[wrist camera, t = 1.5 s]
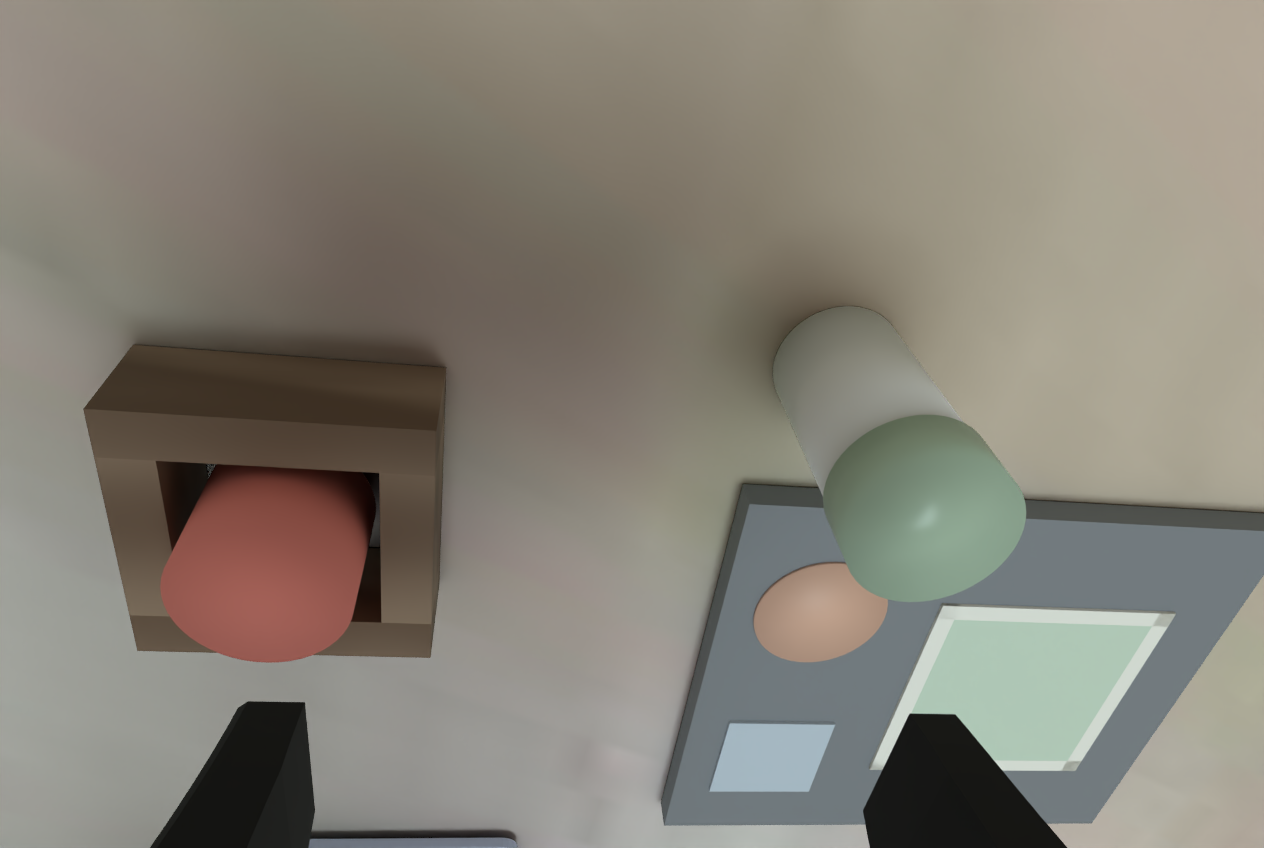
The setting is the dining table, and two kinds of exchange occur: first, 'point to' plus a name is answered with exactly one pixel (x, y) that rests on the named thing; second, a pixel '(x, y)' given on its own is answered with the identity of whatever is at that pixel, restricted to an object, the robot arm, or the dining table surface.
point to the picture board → (949, 658)
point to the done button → (270, 561)
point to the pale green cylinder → (894, 460)
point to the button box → (274, 437)
